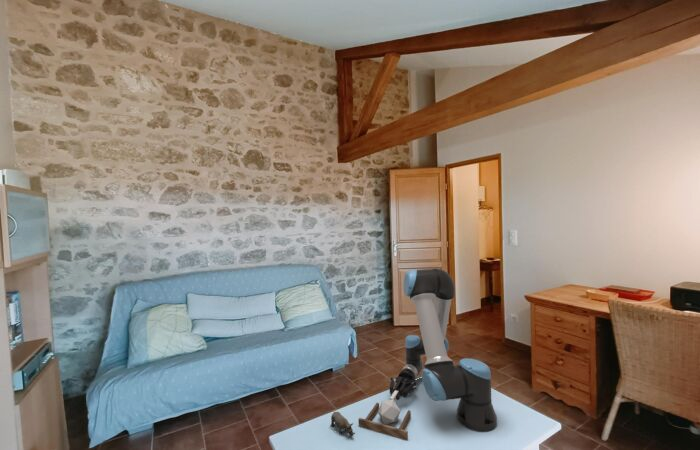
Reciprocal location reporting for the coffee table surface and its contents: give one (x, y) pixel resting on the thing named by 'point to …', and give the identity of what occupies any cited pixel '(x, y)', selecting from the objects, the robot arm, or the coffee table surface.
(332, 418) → the rhino figurine
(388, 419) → the die
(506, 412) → the coffee table surface
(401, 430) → the frame
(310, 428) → the coffee table surface
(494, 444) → the coffee table surface
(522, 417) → the coffee table surface
